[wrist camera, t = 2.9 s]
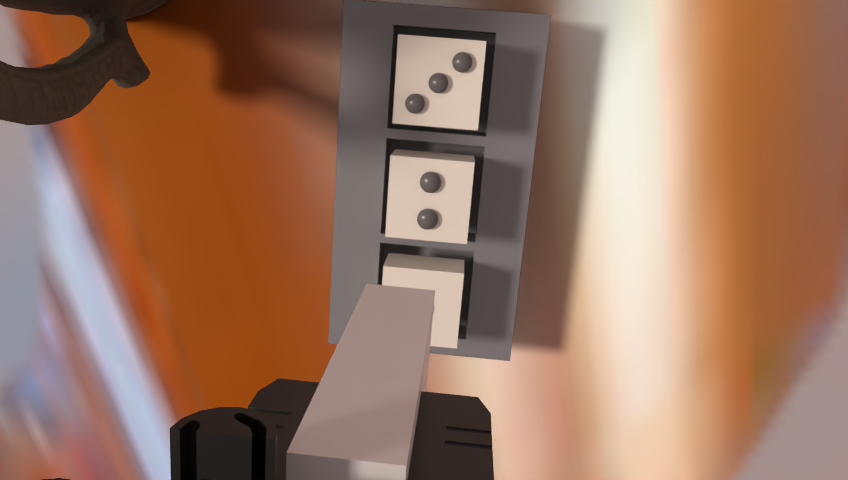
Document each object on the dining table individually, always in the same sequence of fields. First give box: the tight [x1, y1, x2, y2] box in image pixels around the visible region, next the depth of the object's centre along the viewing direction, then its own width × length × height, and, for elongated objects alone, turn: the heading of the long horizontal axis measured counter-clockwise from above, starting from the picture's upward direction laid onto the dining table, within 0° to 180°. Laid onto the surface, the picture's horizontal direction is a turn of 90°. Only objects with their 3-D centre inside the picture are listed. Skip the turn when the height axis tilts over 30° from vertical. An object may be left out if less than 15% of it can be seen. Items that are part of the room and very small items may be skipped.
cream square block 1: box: [382, 253, 464, 349], centre depth 35 cm, size 4×4×3 cm
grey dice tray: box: [329, 0, 551, 361], centre depth 36 cm, size 10×18×3 cm, turn 176°
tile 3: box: [392, 34, 486, 130], centre depth 32 cm, size 4×4×3 cm
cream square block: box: [385, 149, 475, 244], centre depth 34 cm, size 4×4×3 cm
